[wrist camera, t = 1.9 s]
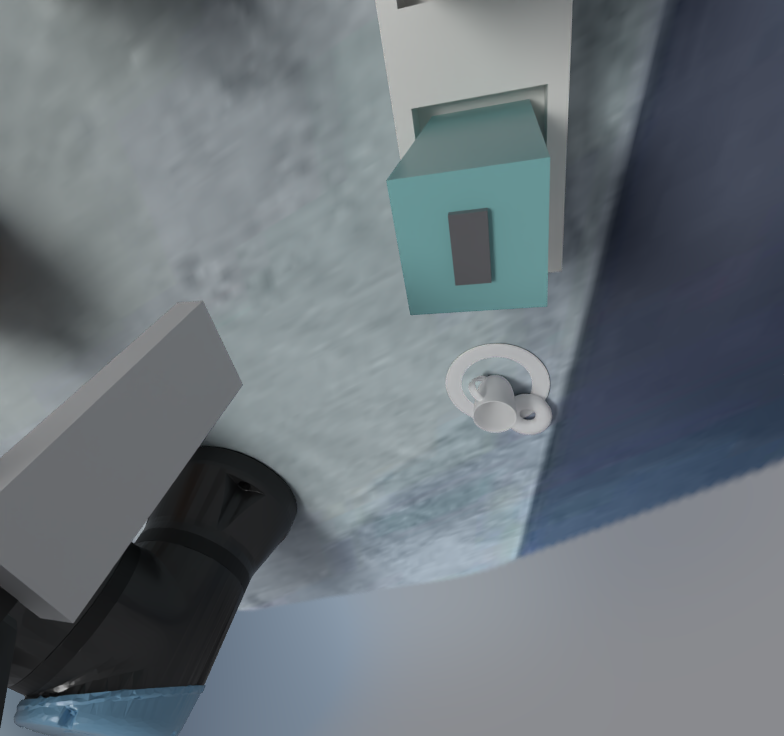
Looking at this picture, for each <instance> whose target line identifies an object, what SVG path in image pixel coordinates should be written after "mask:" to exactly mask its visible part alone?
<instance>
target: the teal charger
mask: <svg viewBox="0 0 784 736" xmlns="http://www.w3.org/2000/svg"><path fill="white" fill-rule="evenodd" d="M386 181H387V187H388V192H389V198H390V204H391V209H392V215H393V220H394V226H395V232H396V237H397V243H398V248H399V254H400V260H401V265H402V271H403V276H404V282H405V287H406V293H407V299H408V304H409V310H410V315H420V314H436V313H451V312H467V311H483V310H499V309H515V308H531V307H547V288H548V240H549V191H550V155H549V152H548V150H547V147H546V144H545V141H544V138H543V136H542V133H541V130H540V127H539V125H538V122H537V119H536V116H535V113H534V111H533V108H532V105H531V102H530V99H526V100H521V101H515V102H509V103H504V104H498V105H492V106H487V107H481V108H475V109H470V110H464V111H458V112H453V113H447V114H441V115H436V116H432V117H431V118H430V120H429V121H428V123H427V124H426V126H425V127H424V128H423V130H422V131H421V133H420V134H419V135H418V137H417V138H416V140H415V141H414V142H413V144H412V145H411V147H410V148H409V149H408V151H407V152H406V154H405V155H404V156H403V158H402V159H401V161H400V162H399V164H398V165H397V166H396V168H395V169H394V171H393V172H392V173H391V175H390V176H389V178H388V179H387V180H386Z"/></svg>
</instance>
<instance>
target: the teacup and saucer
mask: <svg viewBox="0 0 784 736" xmlns="http://www.w3.org/2000/svg"><path fill="white" fill-rule="evenodd" d="M490 357H503V358H508V359H511V360H514V361H516V362H518V363H520V364H521V365H522V366H524V367H525V368H526V369H527V371H528V372H529V374H530V376H531V378H532V390H531V393H530V394H520V395H517V396H515V397H514V392H513V389H512V387H511V385H510V383H509V382H508V380H507V379H506V378H504V377H502V376H500V375H490V376H488V377H486V376H478V377H476V378H474V379H473V380H472V381H471V382H470V384H469V391H470V393H471V395H472V396H473V397H474V398H475V403H474V404H473V403H472V402H470V401H469V400H468V399H467V397H466V396H465V394H464V393H463V390H462V385H461V382H462V377H463V375H464V373H465V371H466V370H467V369H468V367H470V366H471V365H472V364H473V363H475V362H477V361H479V360H482V359H485V358H490ZM476 381H482V382H481V383H480V385H479V387H478V390H477V389H476V387H475V382H476ZM446 389H447V393H448V395H449V397H450V399H451V401H452V402H453V404H454V405H455V406H456V407H457V408H458V409H459V410H461V411H462V412H463V413H465V414H466V415H468V416H470V417H472V418H473V420H474V422H475V424H476V425H477V426H478V427H479V428H481V429H483V430H485V431H488V432H495V433H497V432H503V431H506V430H509V429H510V428H511V429H513V430H514V431H516V432H518V433H521V434H526V435H533V434H538V433H540V432H542V431H544V430H545V429H547V428H548V426H549V425H550V423H551V420H552V411H551V408H550V406H549V405H548V404H547V402H546V401H545V400H546V398H547V396H548V393H549V389H550V379H549V374H548V372H547V370H546V368H545V366H544V365H543V363H542V362H541V361H540V360H539V359H538V358H537V357H536V356H535V355H533V354H532V353H530V352H529V351H527V350H525V349H522V348H520V347H517V346H513V345H509V344H499V343H495V344H485V345H481V346H477V347H474V348H472V349H469V350H468V351H466V352H464V353H463V354H461V355H460V356H459V357H457V358H456V359H455V361H454V362H453V363H452V364H451V366H450V368H449V370H448V372H447V376H446ZM534 412H535V414H536V416H535V418H534V419H532V420H526V419H523V418H525V417H527V416H529V415H531V414H532V413H534Z"/></svg>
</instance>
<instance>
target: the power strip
mask: <svg viewBox="0 0 784 736" xmlns="http://www.w3.org/2000/svg"><path fill="white" fill-rule="evenodd" d="M375 2H376V8H377V14H378V21H379V27H380V33H381V40H382V46H383V52H384V59H385V65H386V71H387V78H388V84H389V90H390V97H391V103H392V109H393V116H394V122H395V128H396V135H397V141H398V147H399V154H400V160H401V159H402V158H403V156H404V155H405V154H406V152H407V151H408V149H409V148H410V147H411V145H412V144H413V142H414V141H415V140H416V138H417V137H418V135H419V134H420V133H421V131H422V130H423V128H424V127H425V126H426V124H427V123H428V121H429V120H430V118H431V117H432V116H436V115H441V114H447V113H453V112H458V111H464V110H470V109H475V108H481V107H487V106H492V105H498V104H504V103H509V102H515V101H521V100H526V99H530V102H531V105H532V108H533V111H534V113H535V116H536V119H537V122H538V125H539V127H540V130H541V133H542V136H543V138H544V141H545V144H546V147H547V150H548V152H549V155H550V191H549V240H548V273H550V272H562V257H563V231H564V206H565V181H566V156H567V131H568V106H569V81H570V56H571V31H572V6H573V0H375Z"/></svg>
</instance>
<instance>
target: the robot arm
mask: <svg viewBox="0 0 784 736" xmlns="http://www.w3.org/2000/svg"><path fill="white" fill-rule="evenodd" d="M242 385H243V384H242V382H241V380H240V378H239V376H238V373H237V371H236V369H235V367H234V365H233V363H232V361H231V359H230V357H229V355H228V352H227V350H226V348H225V346H224V344H223V342H222V340H221V338H220V336H219V334H218V331H217V329H216V327H215V325H214V323H213V321H212V319H211V317H210V315H209V313H208V310H207V308H206V306H205V304H204V302H203V301H193V302H180V303H177V304H175V305H174V306H173V307H172V308H171V309H170V310H169V311H167V312H166V313H165V314H164V315H163V316H162V317H161V318H160V319H158V320H157V321H156V322H155V323H154V324H153V325H152V326H150V327H149V328H148V329H147V330H146V331H145V332H144V333H142V334H141V335H140V336H139V337H138V338H137V339H136V340H134V341H133V342H132V343H131V344H130V345H129V346H128V347H126V348H125V349H124V350H123V351H122V352H121V353H120V354H118V355H117V356H116V357H115V358H114V359H113V360H112V361H110V362H109V363H108V364H107V365H106V366H105V367H104V368H102V369H101V370H100V371H99V372H98V373H97V374H96V375H94V376H93V377H92V378H91V379H90V380H89V381H88V382H87V383H85V384H84V385H83V386H82V387H81V388H80V389H79V390H77V391H76V392H75V393H74V394H73V395H72V396H71V397H69V398H68V399H67V400H66V401H65V402H64V403H63V404H61V405H60V406H59V407H58V408H57V409H56V410H55V411H53V412H52V413H51V414H50V415H49V416H48V417H47V418H45V419H44V420H43V421H42V422H41V423H40V424H39V425H37V426H36V427H35V428H34V429H33V430H32V431H31V432H29V433H28V434H27V435H26V436H25V437H24V438H23V439H21V440H20V441H19V442H18V443H17V444H16V445H15V446H13V447H12V448H11V449H10V450H9V451H8V452H7V453H6V454H4V455H3V456H2V457H1V458H0V726H1V720H2V715H3V709H4V703H5V698H6V692H7V688H10V689H12V690H14V691H16V692H18V693H21V694H23V695H24V696H25V699H24V700H21V701H20V702H19V704H18V705H17V712H16V714H15V716H14V723H15V724H16V725H18V726H19V727H25V728H26V729H30V730H32V731H35V732H38V733H42V734H46V735H50V736H178V735H179V733H180V731H181V730H182V728H183V726H184V724H185V723H186V720H187V718H188V717H189V715H190V713H191V711H192V709H193V707H194V705H195V703H196V701H197V699H198V698H199V696H200V694H201V693H202V692H203V691H204V688H205V685H204V684H205V682H206V680H207V677H208V675H209V673H210V671H211V668H212V666H213V664H214V661H215V659H216V657H217V655H218V652H219V649H220V648H221V645H222V643H223V641H224V639H225V636H226V634H227V632H228V629H229V627H230V625H231V623H232V620H233V618H234V616H235V614H236V611H237V609H238V607H239V605H240V602H241V600H242V598H243V595H244V593H245V591H246V588H247V586H248V584H249V582H250V580H251V578H252V576H253V574H254V573H255V572H256V571H257V570H258V568H259V567H260V566H261V565H262V564H263V563H264V561H265V560H266V559H267V558H268V557H269V556H270V554H271V553H272V552H273V551H274V549H275V548H276V547H277V545H278V544H279V543H280V542H281V541H282V540H284V538H285V537H286V536H287V534H288V533H289V531H290V528H291V526H292V524H293V521H294V519H295V516H296V513H297V505H296V501H295V498H294V496H293V494H292V492H291V490H290V489H289V487H288V486H287V485H286V484H285V482H284V481H283V480H282V479H281V478H280V477H279V476H278V475H276V474H275V473H274V472H273V471H271V470H270V469H269V468H267V467H266V466H264V465H263V464H261V463H259V462H258V461H256V460H254V459H252V458H250V457H247V456H245V455H243V454H240V453H237V452H234V451H231V450H227V449H222V448H216V447H199V446H200V444H201V443H202V442H203V440H204V439H205V437H206V436H207V435H208V433H209V432H210V430H211V429H212V428H213V426H214V425H215V423H216V422H217V421H218V419H219V418H220V416H221V415H222V414H223V412H224V411H225V409H226V408H227V406H228V405H229V404H230V402H231V401H232V399H233V398H234V397H235V395H236V394H237V392H238V391H239V390H240V388H241V387H242ZM147 519H148V520H147ZM146 520H147V523H146V526H145V528H144V530H143V532H142V533H141V534H140V536H139V537H138V539H137V540H136V542H135V543H132V540H133V539H134V537H135V536H136V534H137V533H138V532H139V530H140V529H141V527H142V526H143V525H144V523H145V522H146Z"/></svg>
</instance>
